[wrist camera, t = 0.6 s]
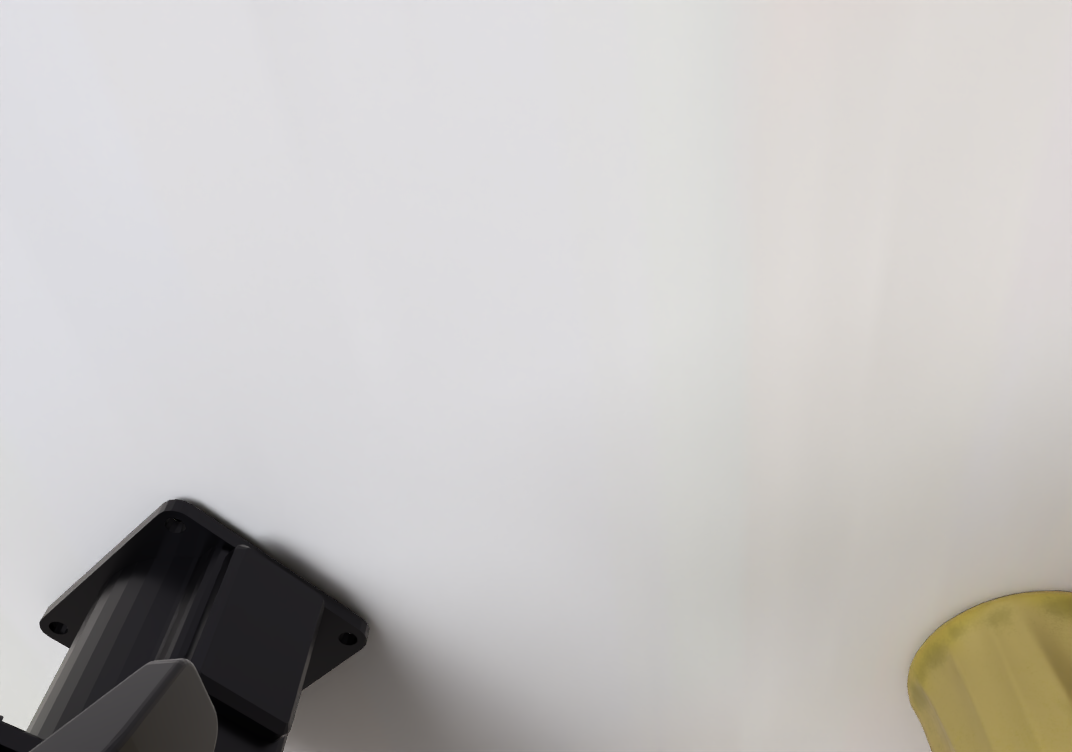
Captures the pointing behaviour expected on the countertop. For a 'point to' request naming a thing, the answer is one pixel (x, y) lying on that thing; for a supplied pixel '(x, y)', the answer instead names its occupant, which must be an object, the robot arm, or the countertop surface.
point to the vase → (998, 677)
